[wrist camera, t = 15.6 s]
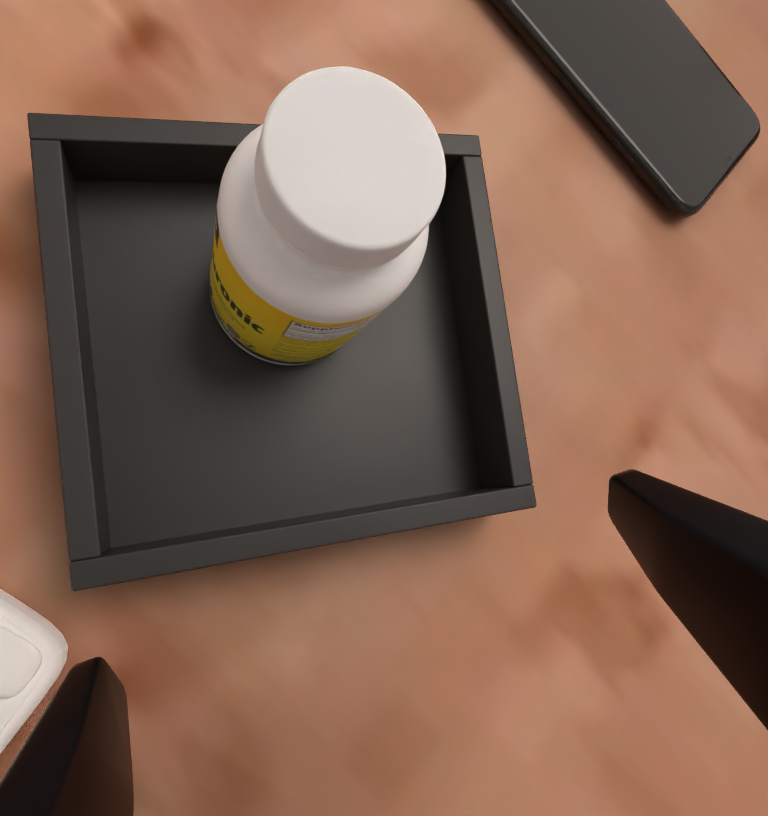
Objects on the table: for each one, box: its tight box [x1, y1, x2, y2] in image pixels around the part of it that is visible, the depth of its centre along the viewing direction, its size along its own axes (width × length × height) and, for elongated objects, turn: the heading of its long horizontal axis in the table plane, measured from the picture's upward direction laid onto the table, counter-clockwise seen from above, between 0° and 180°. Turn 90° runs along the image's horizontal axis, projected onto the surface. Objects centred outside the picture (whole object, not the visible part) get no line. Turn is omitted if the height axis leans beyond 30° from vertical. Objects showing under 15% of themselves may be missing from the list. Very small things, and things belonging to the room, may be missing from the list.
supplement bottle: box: [209, 67, 446, 365], centre depth 17 cm, size 5×5×10 cm
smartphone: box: [491, 0, 760, 217], centre depth 28 cm, size 8×1×16 cm
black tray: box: [27, 113, 536, 591], centre depth 21 cm, size 14×15×3 cm
